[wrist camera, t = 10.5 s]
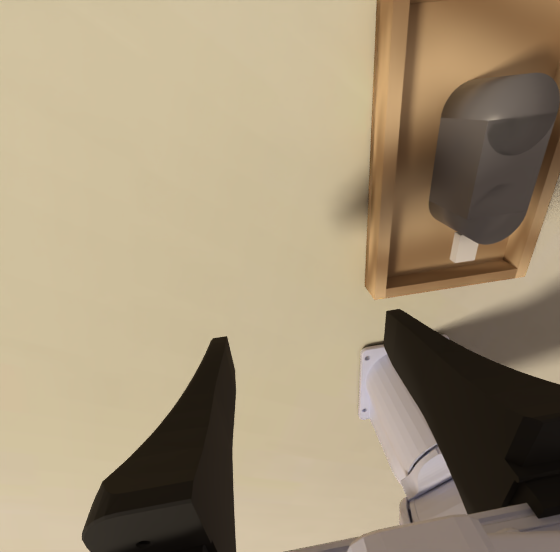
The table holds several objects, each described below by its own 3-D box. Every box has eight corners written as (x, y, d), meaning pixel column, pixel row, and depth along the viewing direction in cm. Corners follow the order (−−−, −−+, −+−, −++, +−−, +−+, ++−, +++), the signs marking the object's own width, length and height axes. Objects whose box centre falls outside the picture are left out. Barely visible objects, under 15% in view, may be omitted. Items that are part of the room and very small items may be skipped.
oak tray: (504, 264, 25) (524, 276, 23) (364, 285, 24) (374, 299, 23) (590, -32, 16) (633, -48, 15) (377, -11, 16) (395, -26, 14)
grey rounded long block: (468, 244, 23) (509, 269, 20) (421, 251, 23) (454, 277, 19) (505, 75, 18) (570, 68, 14) (445, 82, 18) (497, 76, 14)
